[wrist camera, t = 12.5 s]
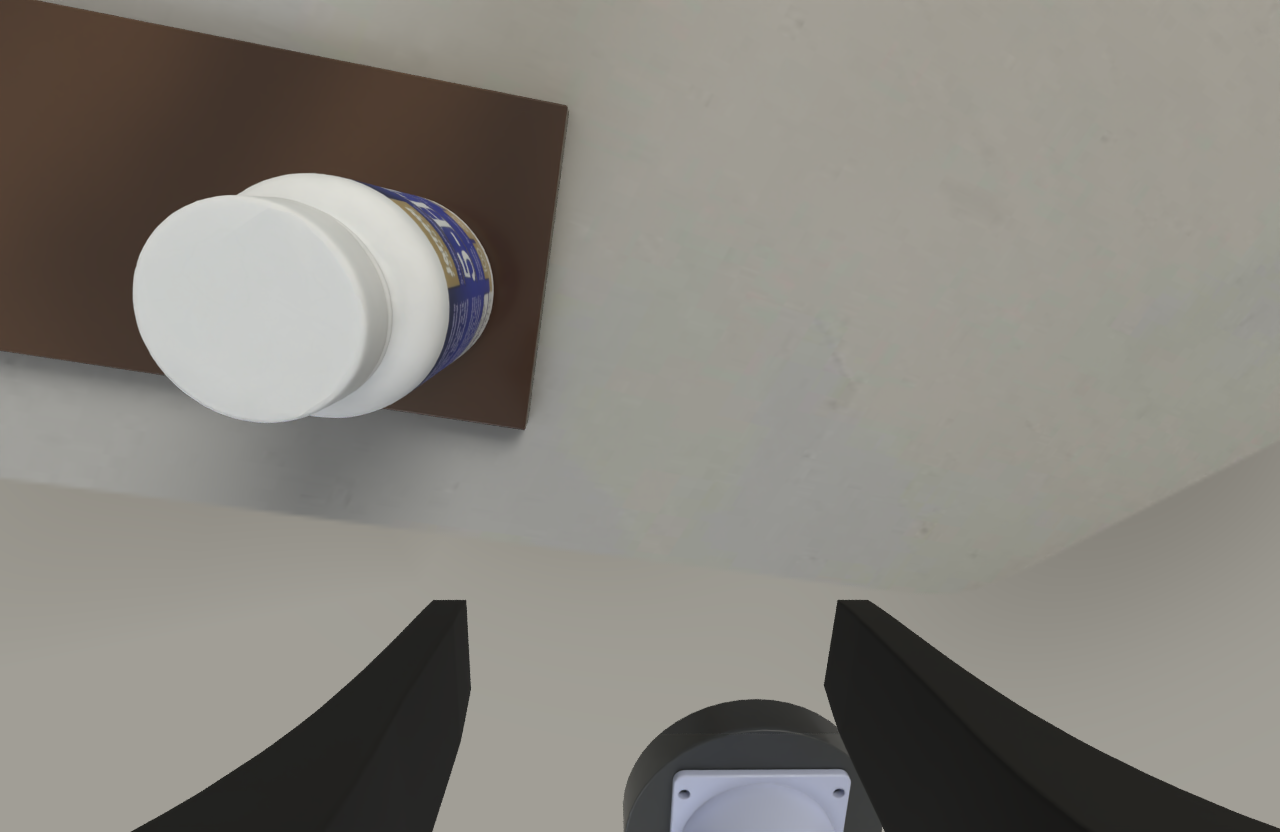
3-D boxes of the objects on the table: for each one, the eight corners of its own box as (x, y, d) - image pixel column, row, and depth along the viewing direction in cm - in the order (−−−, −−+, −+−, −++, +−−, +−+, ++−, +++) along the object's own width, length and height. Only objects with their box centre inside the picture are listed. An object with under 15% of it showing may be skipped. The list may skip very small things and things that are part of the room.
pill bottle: (526, 254, 19) (460, 265, 11) (448, 397, 20) (333, 509, 12) (365, 157, 18) (154, 86, 10) (293, 312, 20) (46, 368, 11)
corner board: (569, 110, 19) (567, 105, 18) (527, 423, 22) (524, 430, 21) (-155, -33, 17) (-191, -46, 17) (-108, 327, 20) (-137, 330, 19)
